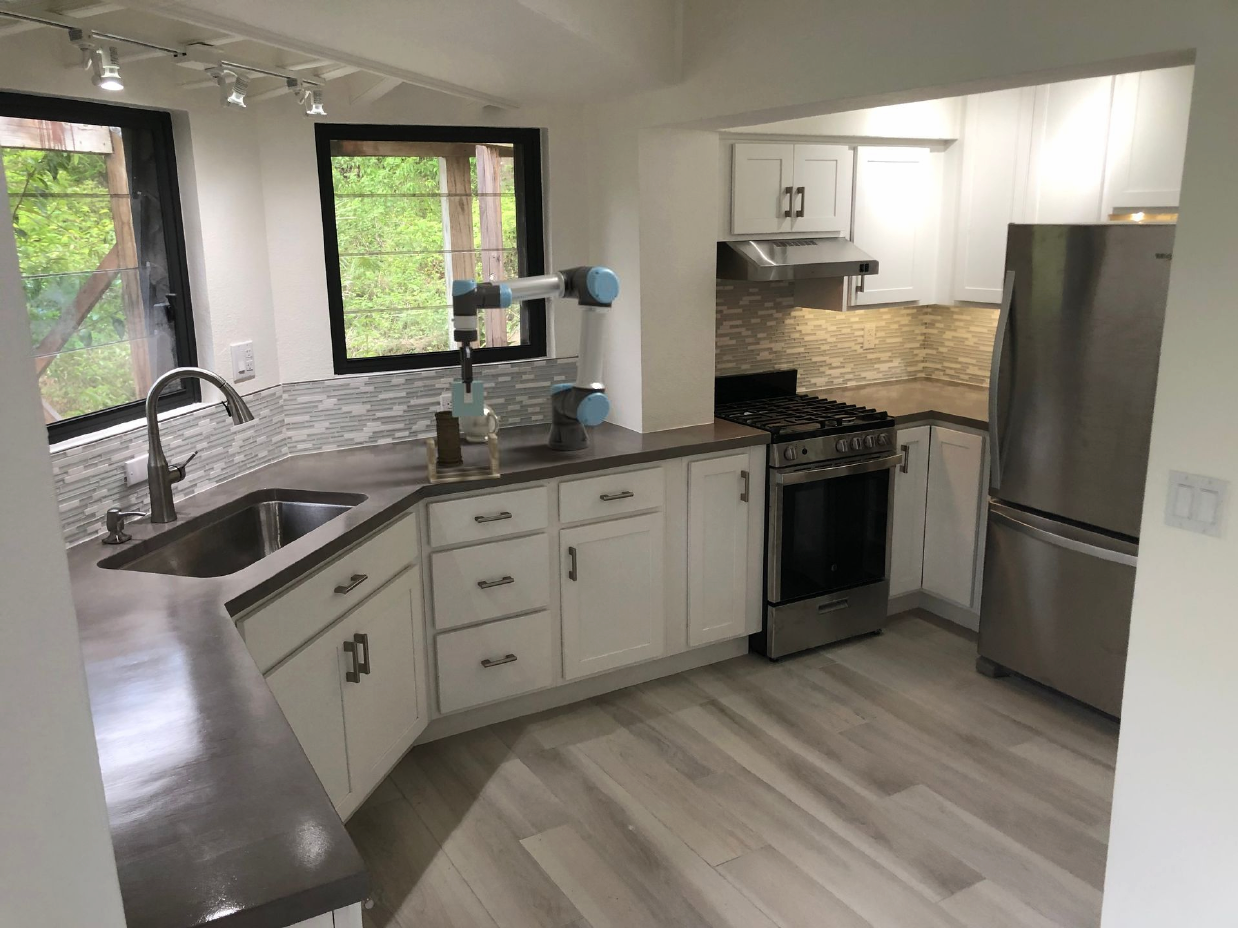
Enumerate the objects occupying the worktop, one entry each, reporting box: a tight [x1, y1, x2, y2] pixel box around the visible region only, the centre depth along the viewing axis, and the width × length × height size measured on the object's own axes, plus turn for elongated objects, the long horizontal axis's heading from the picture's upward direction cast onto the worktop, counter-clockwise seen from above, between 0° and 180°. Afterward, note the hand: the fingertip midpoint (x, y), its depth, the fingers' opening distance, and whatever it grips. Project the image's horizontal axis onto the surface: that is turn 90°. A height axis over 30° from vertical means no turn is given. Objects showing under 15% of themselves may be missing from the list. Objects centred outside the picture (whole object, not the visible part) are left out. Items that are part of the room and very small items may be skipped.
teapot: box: [459, 403, 500, 444], centre depth 362 cm, size 18×14×16 cm
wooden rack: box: [425, 433, 501, 484], centre depth 313 cm, size 22×11×13 cm, turn 106°
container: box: [434, 410, 464, 468], centre depth 328 cm, size 9×9×18 cm
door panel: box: [450, 380, 485, 417], centre depth 313 cm, size 10×4×11 cm, turn 105°
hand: (467, 401), depth 314 cm, fingers closed on door panel, 3 cm apart
